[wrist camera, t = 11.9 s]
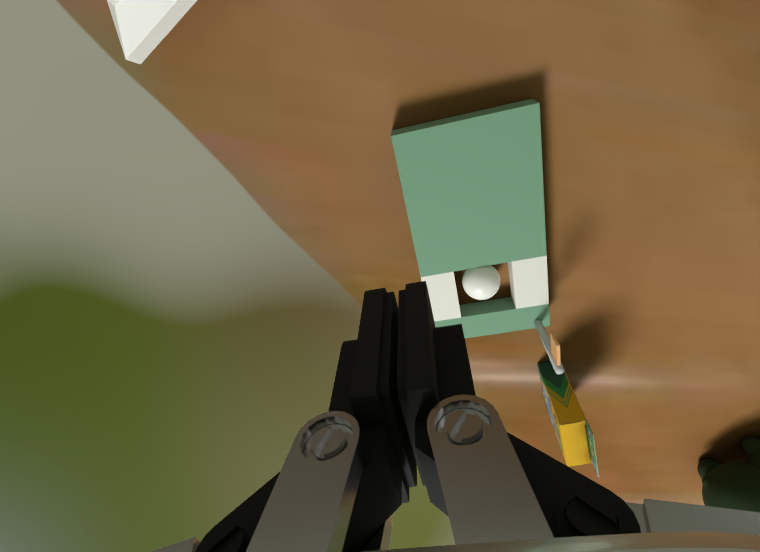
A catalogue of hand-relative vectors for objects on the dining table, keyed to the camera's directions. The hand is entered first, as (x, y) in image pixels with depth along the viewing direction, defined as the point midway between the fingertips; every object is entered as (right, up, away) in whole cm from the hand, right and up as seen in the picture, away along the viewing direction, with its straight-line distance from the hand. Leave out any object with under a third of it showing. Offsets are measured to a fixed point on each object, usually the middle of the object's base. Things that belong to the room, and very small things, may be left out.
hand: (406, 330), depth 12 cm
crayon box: (+21, -12, +44) cm, 50 cm away
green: (+9, +6, +34) cm, 36 cm away
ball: (+10, +1, +35) cm, 36 cm away
